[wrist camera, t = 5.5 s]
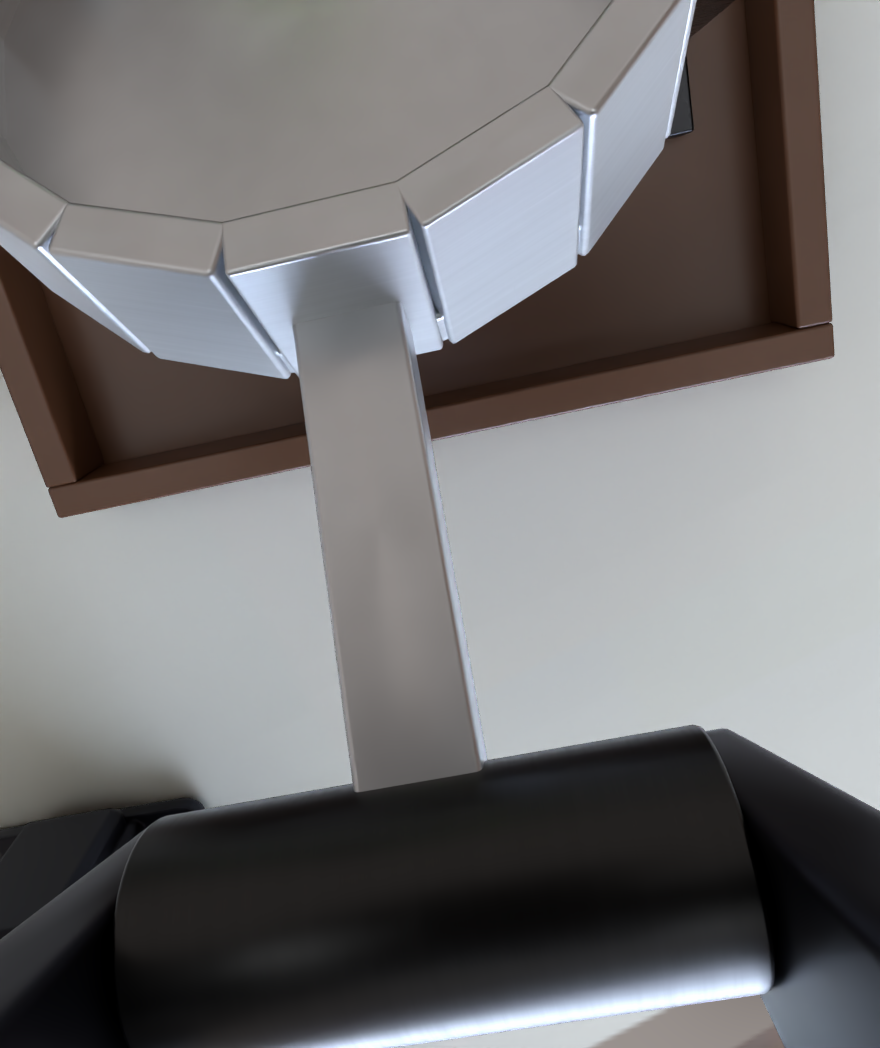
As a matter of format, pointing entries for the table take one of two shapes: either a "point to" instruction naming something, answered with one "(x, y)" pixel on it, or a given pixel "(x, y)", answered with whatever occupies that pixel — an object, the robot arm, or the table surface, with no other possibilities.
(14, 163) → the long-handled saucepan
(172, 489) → the tray
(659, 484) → the table surface
